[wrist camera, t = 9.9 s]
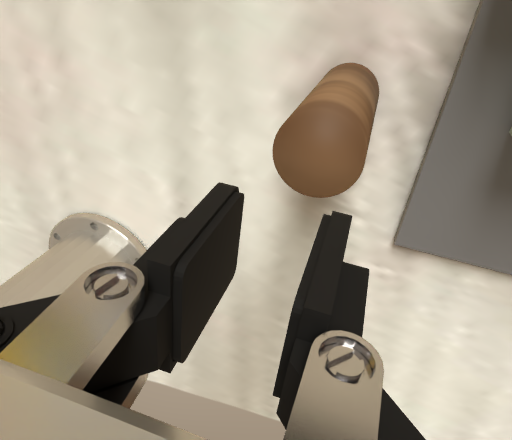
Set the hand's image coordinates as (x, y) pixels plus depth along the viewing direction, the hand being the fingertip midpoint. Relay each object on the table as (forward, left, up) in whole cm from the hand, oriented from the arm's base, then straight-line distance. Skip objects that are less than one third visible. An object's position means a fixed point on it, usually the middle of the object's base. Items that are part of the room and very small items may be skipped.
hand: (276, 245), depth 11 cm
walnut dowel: (0, 0, -19) cm, 19 cm away
